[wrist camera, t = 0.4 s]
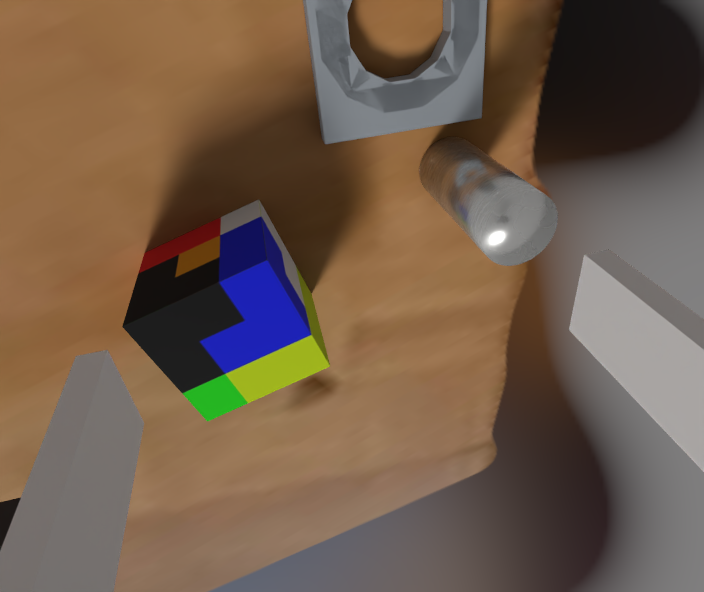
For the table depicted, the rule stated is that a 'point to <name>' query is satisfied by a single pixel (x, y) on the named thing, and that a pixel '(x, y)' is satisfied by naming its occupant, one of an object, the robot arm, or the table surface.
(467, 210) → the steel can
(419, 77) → the socket board
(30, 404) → the table surface
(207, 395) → the puzzle toy
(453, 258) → the table surface
